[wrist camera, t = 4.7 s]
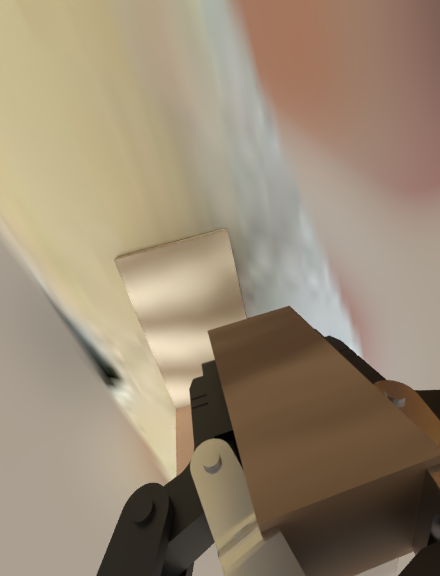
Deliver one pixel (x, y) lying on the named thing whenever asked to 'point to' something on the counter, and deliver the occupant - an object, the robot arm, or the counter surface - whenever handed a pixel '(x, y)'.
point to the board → (183, 303)
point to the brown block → (321, 447)
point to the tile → (184, 438)
